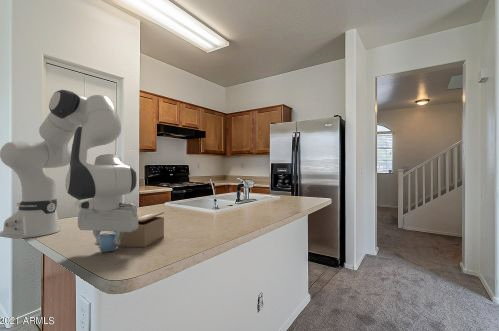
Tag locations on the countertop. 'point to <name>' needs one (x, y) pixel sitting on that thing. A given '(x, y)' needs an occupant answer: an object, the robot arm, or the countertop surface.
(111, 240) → the light blue cube
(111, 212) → the robot arm
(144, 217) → the flap
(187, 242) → the countertop surface
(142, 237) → the carton
